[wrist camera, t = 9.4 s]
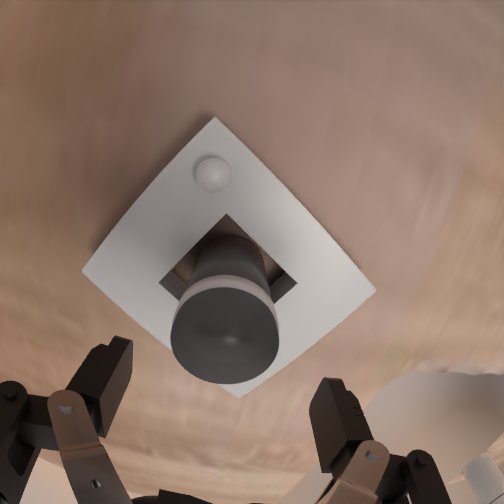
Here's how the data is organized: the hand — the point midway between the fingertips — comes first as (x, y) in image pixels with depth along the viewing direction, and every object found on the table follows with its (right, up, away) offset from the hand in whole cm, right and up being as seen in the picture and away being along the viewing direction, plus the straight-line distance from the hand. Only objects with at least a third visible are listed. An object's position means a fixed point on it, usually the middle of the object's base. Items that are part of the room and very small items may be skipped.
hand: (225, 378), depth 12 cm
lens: (-1, +4, +11) cm, 12 cm away
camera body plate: (-1, +4, +11) cm, 12 cm away
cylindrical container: (+50, -40, +28) cm, 70 cm away
